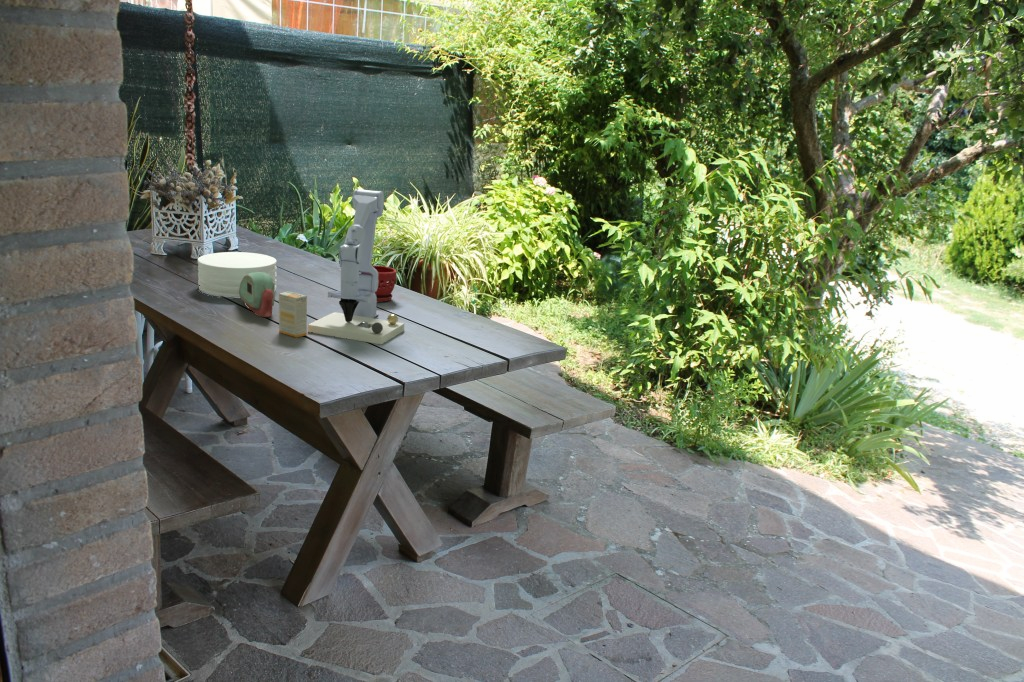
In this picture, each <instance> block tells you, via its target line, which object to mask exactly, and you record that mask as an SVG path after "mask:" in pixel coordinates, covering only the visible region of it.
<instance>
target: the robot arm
mask: <svg viewBox="0 0 1024 682" xmlns="http://www.w3.org/2000/svg"><path fill="white" fill-rule="evenodd" d="M351 200H352V201H351V202H352V206H353V209H354V210H355V213H354V218H353V222H352V225H351V226H349V227H348V229H347V231H346V236H345V239H344V243H343V244H342V245H340V247H339V250H338V260H339V267H340V290H329V291H327V298H334V299H340V300H339V301H338V304H339V305H340V308H341V310H342V313H343V314H344V316H345V321H346V322H351V321H352V318H353V315H355V316H362V317H368V318H374V319H375V318H376V317H377V316H379V315H380V314H379V313H377V303H378V302H377V297H376V294H375V292H376V291H377V289H378V271H377V270H376V269H375V268H374V267H373V266H374V265H372V261H373V254H374V246H375V236H376V226H377V221H378V218H380V217H382V216H383V213H384V206H385V194H384V192H383V191H382V190H369V189H359V188H355V189H354V190H353V191H352V199H351ZM361 273H369V274H361ZM370 274H372V275H370Z"/></svg>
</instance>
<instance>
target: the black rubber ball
mask: <svg viewBox="0 0 1024 682" xmlns="http://www.w3.org/2000/svg"><path fill="white" fill-rule="evenodd" d="M382 330H383V326H382V324H381V323H378V322H377V323H374V324H373V325H372V331H373V332H374V333H380V332H381V331H382Z"/></svg>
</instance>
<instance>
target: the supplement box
mask: <svg viewBox="0 0 1024 682" xmlns="http://www.w3.org/2000/svg"><path fill="white" fill-rule="evenodd" d="M307 299H308V296H307V295H304V294H300V293H298V292H295V291H284V292H280V293H278V323H279V324H278V331H279V333H280V334H284V335H287V336H290V337H294V338H301V337H303V336H307V335H308V321H307V320H308V318H307V317H308V316H307V315H308V309H307V308H308V307H307V306H308V300H307Z"/></svg>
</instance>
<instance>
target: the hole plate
mask: <svg viewBox="0 0 1024 682" xmlns="http://www.w3.org/2000/svg"><path fill="white" fill-rule="evenodd" d="M364 321H365V322H367V323H368V324H369V326H370V328H364V327H359V324H360V323H361V322H364ZM377 322H378V323H381V324H382V326H383V330H382V331H381V332H380V333H374V332H373V331H372V325H373V324H374V323H377ZM404 331H405V323H404V322H399V321H397V323H396V324H390V323H389V322H388V320H386V319H381V318H380V319H379V318H375V317H374V318H368V317H362V316H355V315H353V318H352V321H351V322H346V321H345V316H344V313H343V312H335V311H333V312H332V313H329V314H328V315H325V316H323V317H321V318H319V319H316V320H315V321H312V322H311V323H309V324H308V323H307V333H311V332H313V333H312V334H318V335H323V336H328V337H329V336H330V337H334V336H335V338H340V337H341V339H346V338H347V339H349V340H352V341H360V342H365V343H371V344H376V345H384V344H385V343H387V342H388V341H389V340H391V339H393V338H394V337H396V336H397V335H399V334H401V333H403V332H404ZM384 342H385V343H384Z"/></svg>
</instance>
